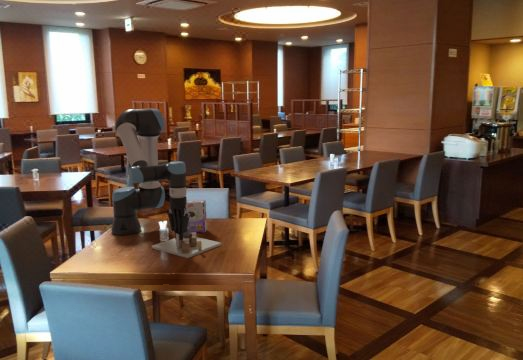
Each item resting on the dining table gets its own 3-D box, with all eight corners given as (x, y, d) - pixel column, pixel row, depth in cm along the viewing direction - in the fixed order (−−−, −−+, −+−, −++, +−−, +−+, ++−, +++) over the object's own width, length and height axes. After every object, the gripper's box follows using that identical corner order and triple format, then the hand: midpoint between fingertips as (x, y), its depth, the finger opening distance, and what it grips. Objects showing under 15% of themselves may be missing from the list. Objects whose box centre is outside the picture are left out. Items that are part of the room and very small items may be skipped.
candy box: (207, 230, 247) (206, 199, 244) (205, 233, 241) (203, 202, 238) (182, 229, 248) (180, 199, 245) (179, 232, 242) (177, 202, 239)
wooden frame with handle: (177, 241, 223) (176, 233, 222) (196, 240, 224) (196, 232, 223) (175, 253, 205) (174, 244, 204) (196, 252, 206) (195, 243, 206)
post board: (151, 248, 218) (150, 229, 216) (186, 236, 235) (185, 219, 234) (188, 258, 203) (187, 238, 202) (222, 245, 220) (221, 227, 219)
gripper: (161, 196, 207) (163, 246, 212) (183, 199, 201) (184, 251, 205) (173, 193, 214) (174, 242, 218) (194, 196, 207) (195, 246, 211)
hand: (179, 246), depth 212 cm, fingers closed
